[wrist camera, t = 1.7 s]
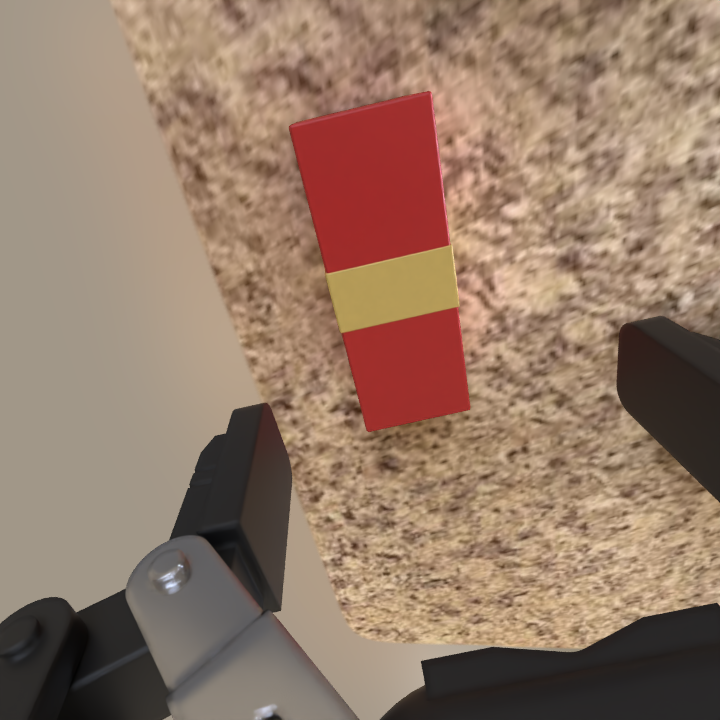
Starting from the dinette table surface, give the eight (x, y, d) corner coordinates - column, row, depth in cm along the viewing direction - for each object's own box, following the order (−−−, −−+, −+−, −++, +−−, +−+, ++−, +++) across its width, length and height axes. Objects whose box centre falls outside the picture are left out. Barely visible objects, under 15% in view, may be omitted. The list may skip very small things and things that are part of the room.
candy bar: (293, 123, 18) (286, 126, 14) (410, 94, 18) (434, 89, 14) (359, 384, 24) (366, 434, 20) (449, 364, 23) (472, 410, 20)
